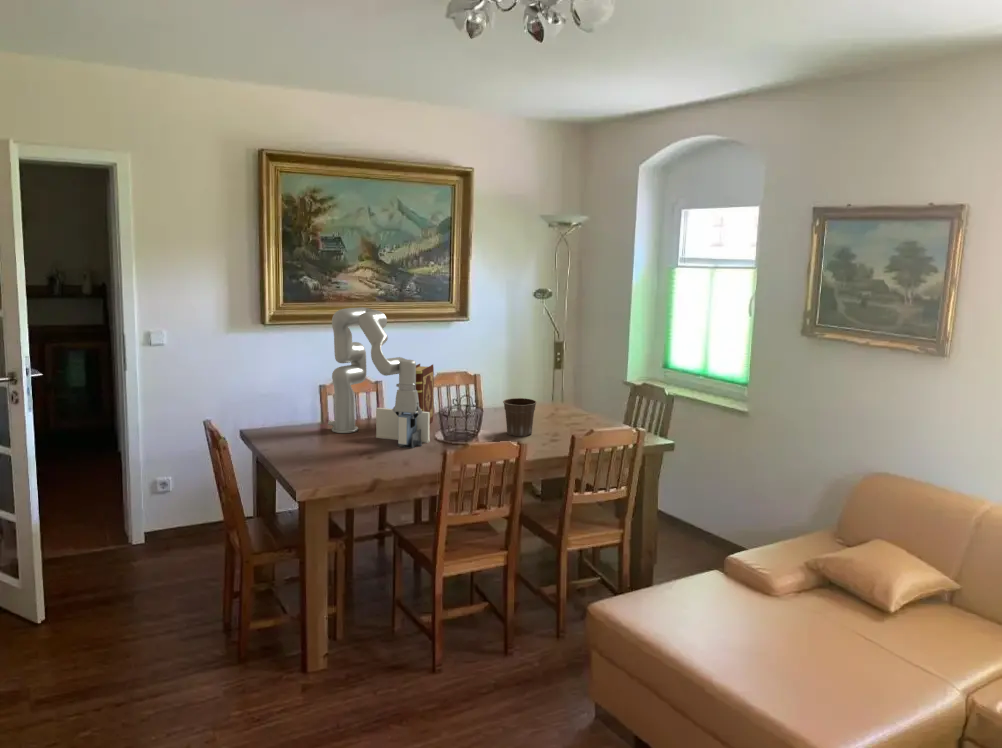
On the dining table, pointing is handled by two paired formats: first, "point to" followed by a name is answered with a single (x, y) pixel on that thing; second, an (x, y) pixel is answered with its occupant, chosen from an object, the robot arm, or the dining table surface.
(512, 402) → the plant pot
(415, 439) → the bookend
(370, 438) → the dining table surface
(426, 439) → the shelf wall
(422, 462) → the dining table surface
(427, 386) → the decorative book
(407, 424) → the boxed book
